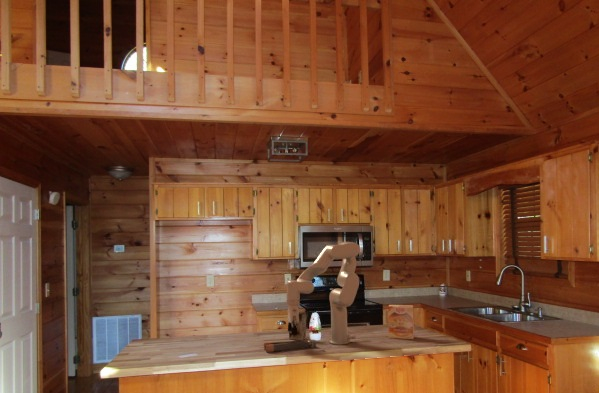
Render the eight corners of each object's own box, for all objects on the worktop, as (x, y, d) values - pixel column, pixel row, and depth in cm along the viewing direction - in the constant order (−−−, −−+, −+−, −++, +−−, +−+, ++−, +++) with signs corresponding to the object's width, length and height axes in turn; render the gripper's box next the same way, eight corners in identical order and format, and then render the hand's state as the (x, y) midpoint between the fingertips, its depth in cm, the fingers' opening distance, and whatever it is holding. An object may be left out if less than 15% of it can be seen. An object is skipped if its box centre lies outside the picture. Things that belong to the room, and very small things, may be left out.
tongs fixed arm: (314, 345, 261) (314, 339, 261) (316, 347, 257) (316, 341, 257) (263, 349, 254) (263, 342, 255) (264, 350, 250) (264, 344, 250)
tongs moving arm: (310, 346, 258) (310, 340, 258) (312, 347, 256) (312, 340, 256) (265, 351, 248) (265, 344, 248) (266, 352, 246) (266, 345, 246)
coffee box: (288, 339, 278) (288, 312, 279) (293, 337, 283) (293, 310, 285) (301, 340, 274) (301, 313, 275) (306, 338, 279) (306, 311, 281)
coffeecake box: (388, 338, 278) (387, 306, 279) (389, 335, 284) (389, 304, 286) (413, 339, 273) (412, 306, 275) (414, 336, 280) (413, 305, 282)
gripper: (302, 304, 250) (302, 336, 249) (296, 300, 267) (295, 329, 266) (289, 304, 249) (288, 336, 247) (283, 300, 266) (283, 330, 264)
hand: (292, 332), depth 256 cm, fingers open, 9 cm apart
